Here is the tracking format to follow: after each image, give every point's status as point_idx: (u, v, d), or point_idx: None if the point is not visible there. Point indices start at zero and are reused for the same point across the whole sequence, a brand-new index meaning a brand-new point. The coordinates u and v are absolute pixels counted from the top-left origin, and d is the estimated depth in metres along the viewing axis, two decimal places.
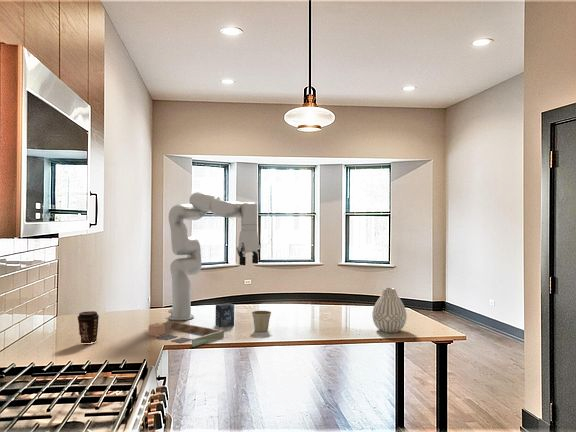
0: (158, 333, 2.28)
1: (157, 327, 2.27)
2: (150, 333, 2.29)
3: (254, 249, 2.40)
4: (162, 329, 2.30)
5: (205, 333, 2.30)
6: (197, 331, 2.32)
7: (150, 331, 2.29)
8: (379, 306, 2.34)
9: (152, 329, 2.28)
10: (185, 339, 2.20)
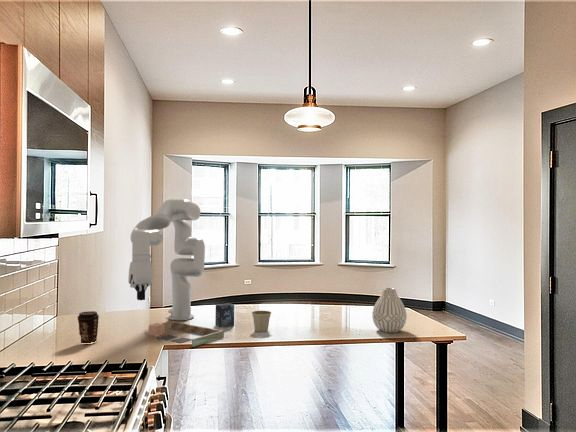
0: (158, 333, 2.28)
1: (157, 327, 2.27)
2: (150, 333, 2.29)
3: (147, 281, 2.23)
4: (162, 329, 2.30)
5: (205, 333, 2.30)
6: (197, 331, 2.32)
7: (150, 331, 2.29)
8: (379, 306, 2.34)
9: (152, 329, 2.28)
10: (185, 339, 2.20)
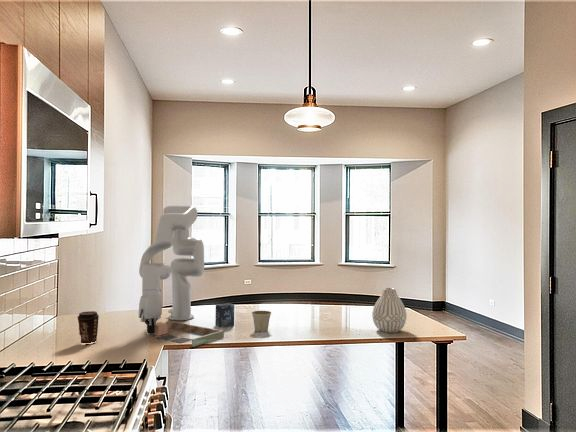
0: (160, 332, 2.29)
1: (159, 326, 2.28)
2: None
3: (156, 315, 2.27)
4: (165, 328, 2.31)
5: (205, 333, 2.30)
6: (197, 331, 2.32)
7: None
8: (379, 306, 2.34)
9: None
10: (185, 339, 2.20)
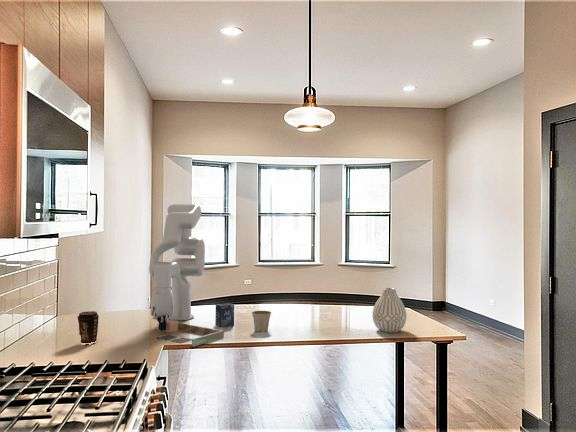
0: (172, 329, 2.34)
1: (171, 323, 2.34)
2: None
3: (168, 312, 2.33)
4: (176, 326, 2.36)
5: (205, 333, 2.30)
6: (197, 331, 2.32)
7: None
8: (379, 306, 2.34)
9: (166, 326, 2.35)
10: (185, 339, 2.20)
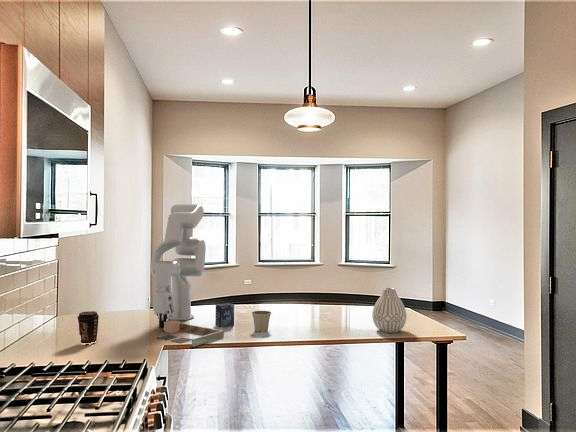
0: (173, 330, 2.34)
1: (172, 324, 2.33)
2: (165, 330, 2.35)
3: (161, 311, 2.35)
4: (177, 326, 2.36)
5: (205, 333, 2.30)
6: (197, 331, 2.32)
7: (165, 328, 2.35)
8: (379, 306, 2.34)
9: (167, 326, 2.34)
10: (185, 339, 2.20)
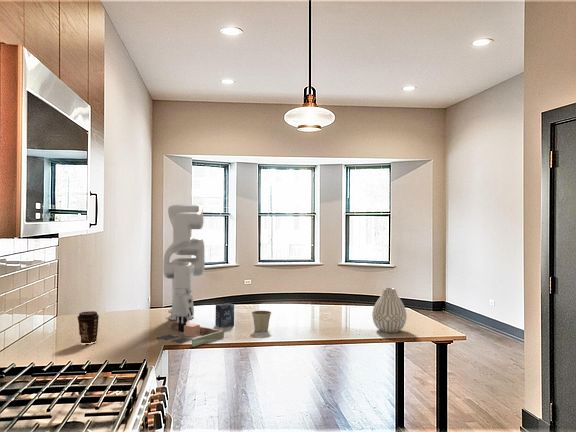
0: (194, 333, 2.27)
1: (193, 327, 2.26)
2: (185, 333, 2.28)
3: (181, 314, 2.28)
4: (198, 329, 2.29)
5: (205, 333, 2.30)
6: None
7: (185, 331, 2.28)
8: (379, 306, 2.34)
9: (187, 330, 2.27)
10: (185, 339, 2.20)
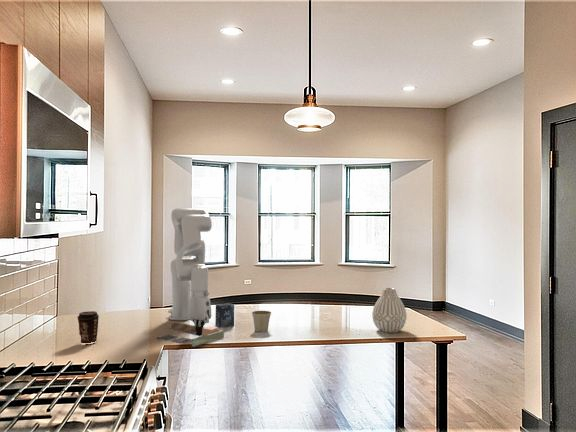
0: None
1: (212, 330, 2.21)
2: None
3: (198, 317, 2.22)
4: None
5: None
6: None
7: (204, 334, 2.22)
8: (379, 306, 2.34)
9: (206, 333, 2.22)
10: (185, 339, 2.20)
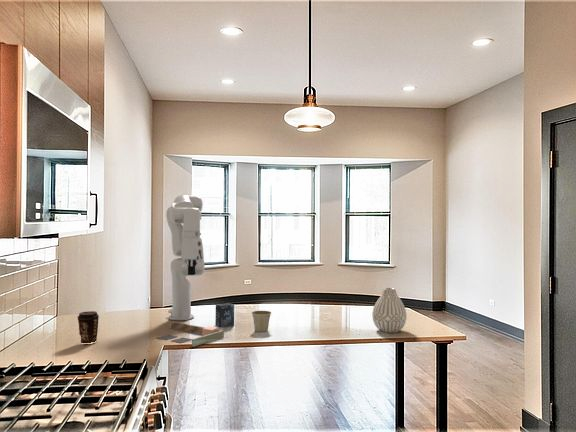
0: None
1: (212, 330, 2.21)
2: None
3: (190, 257, 2.29)
4: None
5: None
6: (197, 331, 2.32)
7: (204, 335, 2.22)
8: (379, 306, 2.34)
9: (206, 333, 2.22)
10: (185, 339, 2.20)
